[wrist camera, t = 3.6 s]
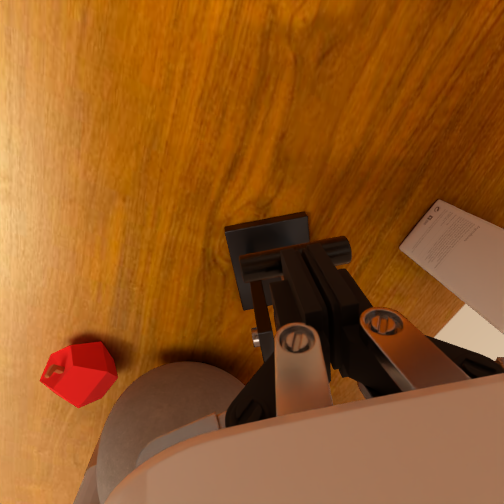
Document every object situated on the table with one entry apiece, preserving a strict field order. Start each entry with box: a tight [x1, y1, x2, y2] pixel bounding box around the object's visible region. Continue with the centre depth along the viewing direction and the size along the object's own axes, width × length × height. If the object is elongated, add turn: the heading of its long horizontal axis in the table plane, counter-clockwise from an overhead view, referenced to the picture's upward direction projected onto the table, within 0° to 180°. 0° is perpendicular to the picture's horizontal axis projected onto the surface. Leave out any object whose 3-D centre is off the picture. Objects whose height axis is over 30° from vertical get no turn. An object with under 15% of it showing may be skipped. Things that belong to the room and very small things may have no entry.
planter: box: [96, 361, 245, 504], centre depth 29 cm, size 18×7×19 cm, turn 64°
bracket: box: [225, 212, 331, 363], centre depth 25 cm, size 10×8×12 cm
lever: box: [239, 236, 352, 331], centre depth 18 cm, size 12×5×2 cm, turn 9°
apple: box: [40, 341, 118, 408], centre depth 31 cm, size 7×7×8 cm
